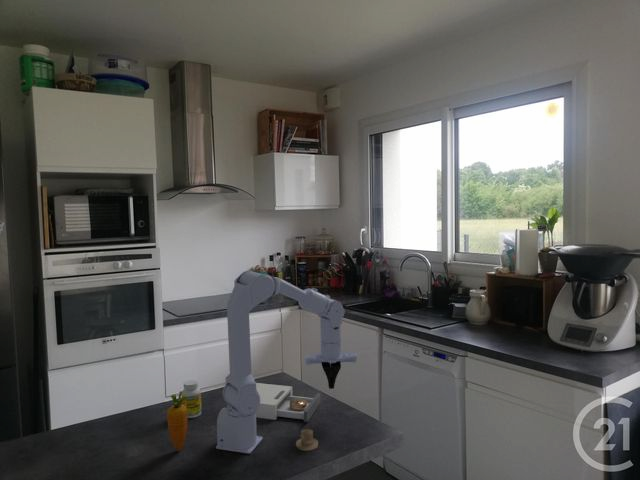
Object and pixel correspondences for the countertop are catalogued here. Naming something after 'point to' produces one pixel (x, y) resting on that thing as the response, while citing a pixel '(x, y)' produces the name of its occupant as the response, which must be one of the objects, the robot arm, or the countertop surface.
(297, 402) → the disc
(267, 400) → the player
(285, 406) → the tray
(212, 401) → the countertop surface
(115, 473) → the countertop surface
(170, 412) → the carrot
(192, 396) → the supplement bottle
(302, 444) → the stand
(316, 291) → the robot arm
